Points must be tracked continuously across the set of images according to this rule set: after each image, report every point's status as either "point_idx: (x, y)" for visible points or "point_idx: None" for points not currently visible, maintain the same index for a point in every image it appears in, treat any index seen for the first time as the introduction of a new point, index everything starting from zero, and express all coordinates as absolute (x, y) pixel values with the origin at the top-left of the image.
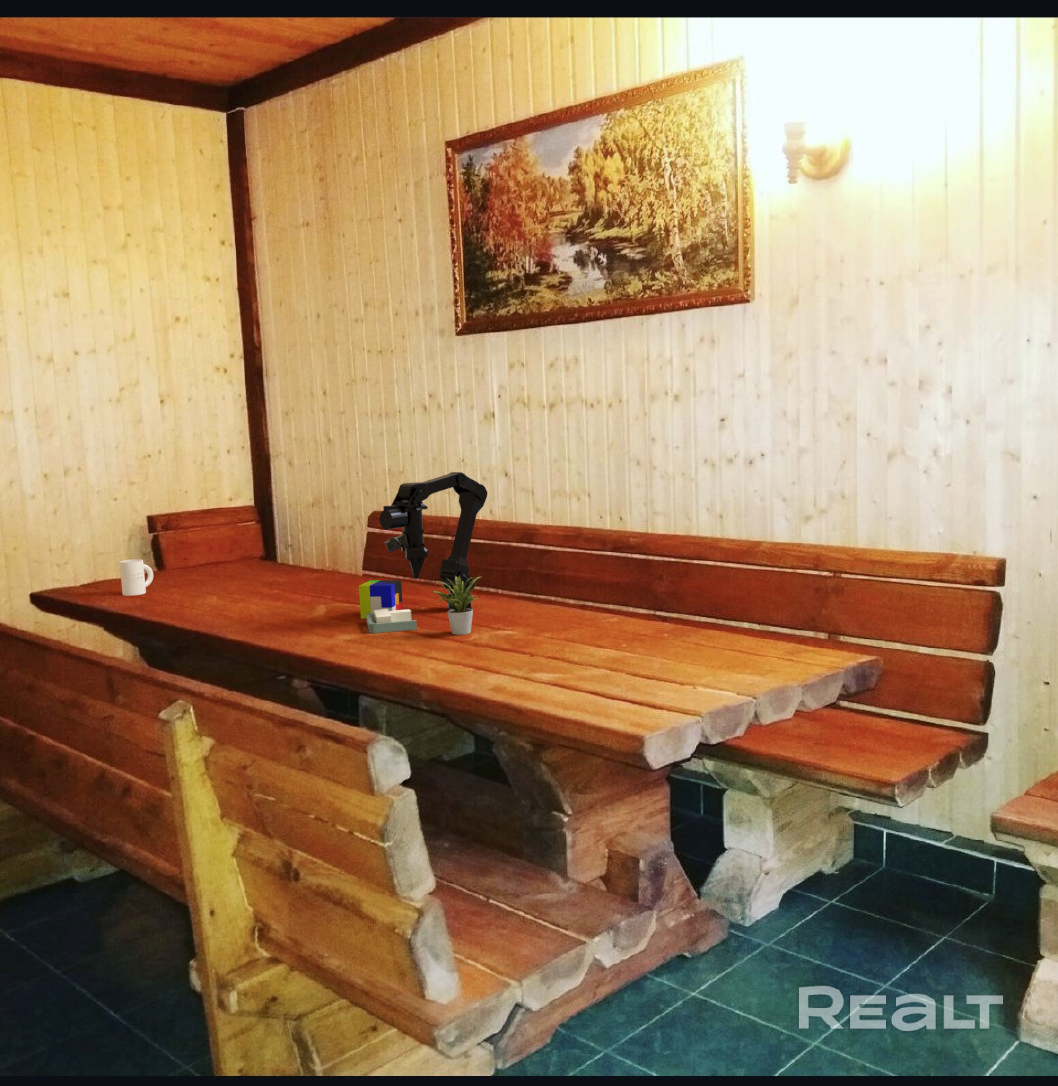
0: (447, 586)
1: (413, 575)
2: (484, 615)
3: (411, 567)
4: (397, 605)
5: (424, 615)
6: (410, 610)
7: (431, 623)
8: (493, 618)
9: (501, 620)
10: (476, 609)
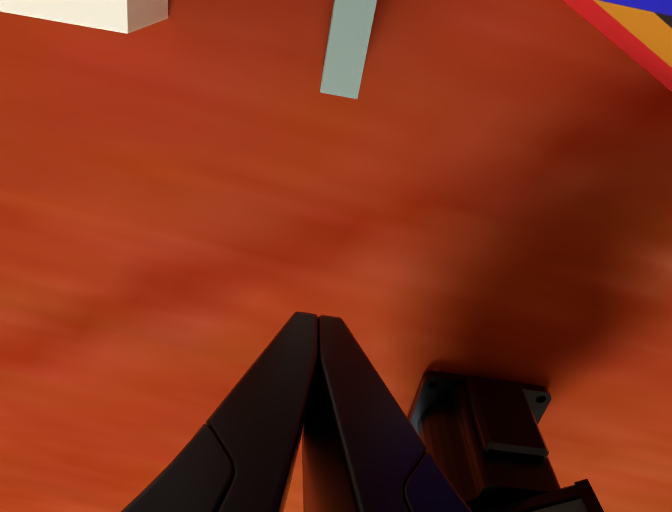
0: (583, 506)
1: (309, 335)
2: None
3: (339, 441)
4: (630, 34)
5: (416, 202)
6: (343, 91)
7: (79, 161)
8: (100, 464)
9: (31, 475)
10: None
